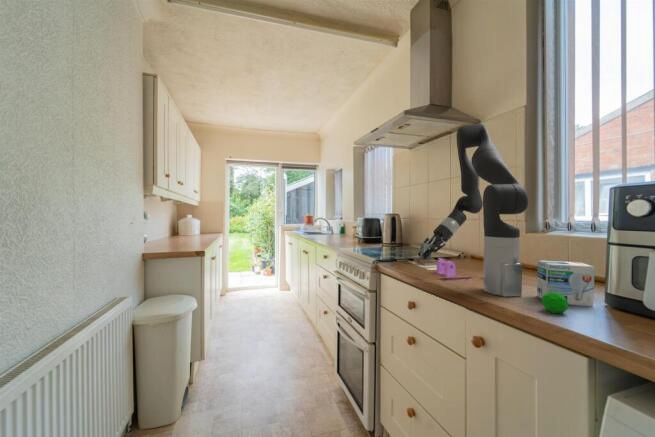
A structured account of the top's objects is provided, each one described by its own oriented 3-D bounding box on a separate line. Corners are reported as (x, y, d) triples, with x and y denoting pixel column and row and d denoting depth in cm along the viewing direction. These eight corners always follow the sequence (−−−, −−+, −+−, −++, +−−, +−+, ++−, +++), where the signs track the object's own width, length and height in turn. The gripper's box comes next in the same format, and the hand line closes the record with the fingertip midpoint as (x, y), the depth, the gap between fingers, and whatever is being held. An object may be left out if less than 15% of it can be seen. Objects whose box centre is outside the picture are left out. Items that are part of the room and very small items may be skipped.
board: (453, 272, 112) (453, 269, 112) (428, 273, 110) (428, 269, 110) (428, 263, 132) (428, 260, 132) (406, 264, 130) (406, 261, 130)
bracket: (447, 280, 99) (447, 261, 99) (436, 277, 104) (436, 259, 104) (475, 278, 103) (475, 260, 103) (463, 275, 108) (463, 257, 108)
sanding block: (437, 265, 119) (437, 245, 119) (424, 265, 119) (425, 245, 118) (426, 261, 129) (426, 242, 129) (414, 261, 128) (414, 242, 128)
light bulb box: (546, 303, 74) (547, 263, 74) (535, 296, 81) (536, 259, 80) (595, 307, 71) (596, 266, 71) (579, 299, 77) (580, 261, 77)
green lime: (569, 312, 67) (569, 293, 67) (566, 317, 64) (567, 297, 64) (543, 307, 71) (543, 289, 71) (539, 311, 67) (540, 292, 67)
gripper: (432, 223, 132) (409, 248, 130) (450, 224, 118) (423, 252, 116) (442, 234, 133) (419, 259, 131) (461, 236, 119) (435, 265, 117)
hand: (421, 256), depth 124 cm, fingers closed on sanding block, 3 cm apart
